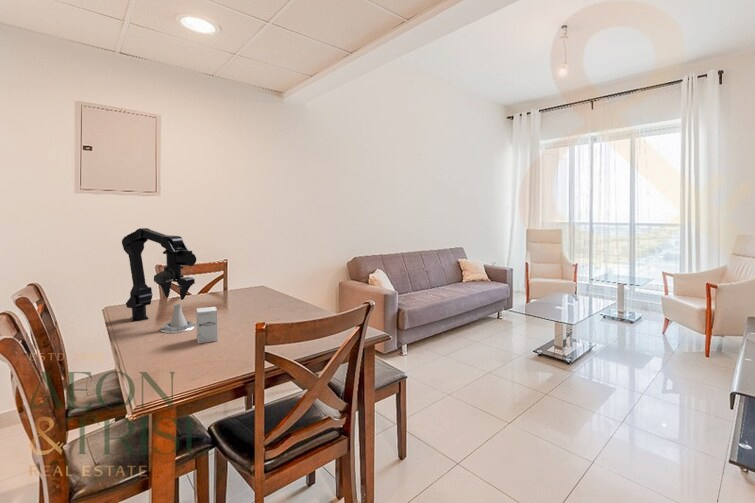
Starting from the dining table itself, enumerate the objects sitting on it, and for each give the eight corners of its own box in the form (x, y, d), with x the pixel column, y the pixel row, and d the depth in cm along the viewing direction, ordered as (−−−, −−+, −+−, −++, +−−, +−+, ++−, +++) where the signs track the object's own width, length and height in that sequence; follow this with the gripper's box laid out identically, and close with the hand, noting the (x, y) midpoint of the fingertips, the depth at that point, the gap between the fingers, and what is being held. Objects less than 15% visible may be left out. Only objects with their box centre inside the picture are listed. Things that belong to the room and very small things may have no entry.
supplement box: (197, 344, 144) (196, 312, 143) (196, 338, 151) (195, 307, 150) (218, 341, 148) (217, 310, 147) (216, 335, 154) (215, 306, 153)
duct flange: (157, 327, 165) (157, 323, 165) (191, 321, 174) (191, 317, 174) (163, 335, 154) (163, 330, 154) (199, 328, 163) (199, 324, 163)
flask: (177, 330, 160) (177, 307, 159) (165, 328, 162) (164, 305, 161) (191, 325, 166) (190, 303, 165) (179, 324, 169) (178, 302, 168)
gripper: (142, 264, 163) (143, 299, 164) (173, 268, 156) (174, 305, 158) (164, 261, 173) (165, 294, 175) (195, 265, 166) (195, 299, 168)
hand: (174, 298), depth 168 cm, fingers open, 9 cm apart
